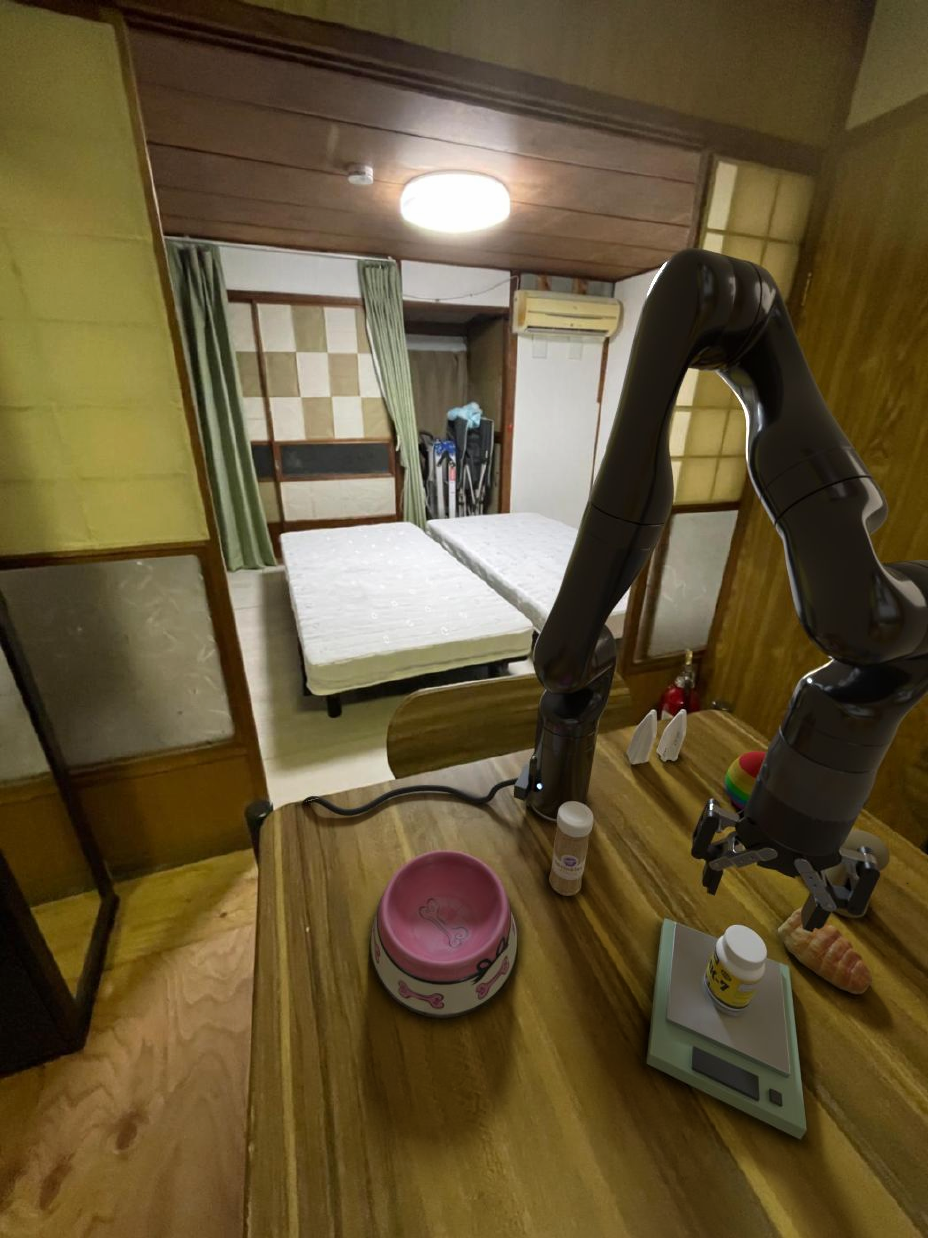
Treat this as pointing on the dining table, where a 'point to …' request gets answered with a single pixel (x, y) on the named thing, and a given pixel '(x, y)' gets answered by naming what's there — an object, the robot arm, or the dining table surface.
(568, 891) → the sprinkles bottle
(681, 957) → the scale pan
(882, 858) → the cork
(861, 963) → the pastry
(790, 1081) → the scale base
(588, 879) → the dining table surface
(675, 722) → the shaker set
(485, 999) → the dog bowl
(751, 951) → the supplement bottle
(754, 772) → the decorative egg
